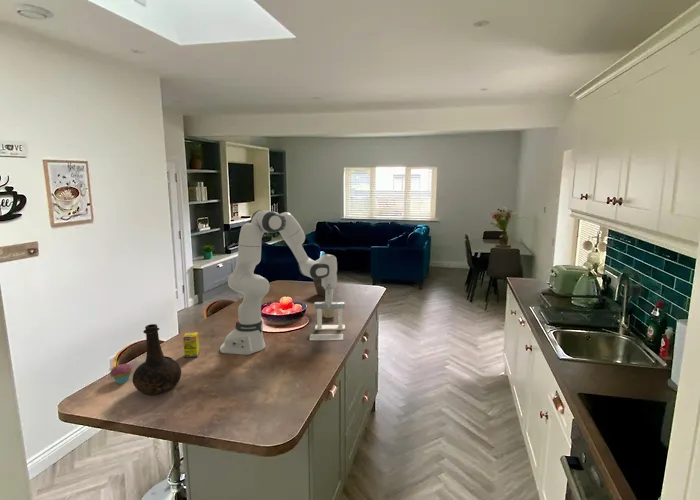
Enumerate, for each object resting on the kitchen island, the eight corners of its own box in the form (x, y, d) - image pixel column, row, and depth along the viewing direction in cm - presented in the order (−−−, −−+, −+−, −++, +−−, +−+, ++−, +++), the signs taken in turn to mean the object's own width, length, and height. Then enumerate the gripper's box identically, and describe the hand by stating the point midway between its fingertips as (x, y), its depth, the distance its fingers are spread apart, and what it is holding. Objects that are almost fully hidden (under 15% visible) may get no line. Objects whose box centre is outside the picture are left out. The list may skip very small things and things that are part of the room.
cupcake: (118, 387, 173) (115, 360, 171) (107, 382, 177) (103, 356, 175) (137, 379, 180) (135, 353, 178) (126, 374, 185) (123, 348, 182)
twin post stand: (315, 330, 236) (314, 309, 234) (315, 326, 242) (315, 305, 240) (344, 329, 236) (344, 308, 234) (344, 326, 242) (344, 305, 240)
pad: (309, 340, 221) (309, 339, 221) (310, 334, 229) (310, 334, 229) (343, 340, 221) (343, 339, 221) (343, 334, 229) (343, 333, 229)
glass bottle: (190, 381, 178) (185, 319, 173) (163, 403, 161) (156, 335, 156) (154, 377, 182) (148, 316, 177) (124, 398, 165) (116, 331, 160)
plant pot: (325, 290, 316) (324, 270, 313) (337, 294, 305) (336, 273, 302) (308, 294, 307) (308, 273, 304) (320, 298, 295) (320, 277, 293)
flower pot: (318, 317, 256) (318, 304, 255) (325, 313, 265) (324, 300, 263) (332, 319, 253) (332, 306, 251) (338, 315, 261) (338, 301, 260)
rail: (314, 308, 235) (314, 303, 234) (314, 307, 238) (314, 302, 237) (344, 309, 235) (344, 304, 235) (344, 307, 238) (344, 302, 238)
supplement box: (184, 358, 200) (182, 337, 198) (187, 353, 206) (185, 332, 204) (197, 357, 201) (195, 336, 199) (199, 352, 207) (198, 331, 205)
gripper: (334, 287, 224) (334, 311, 226) (335, 278, 244) (335, 300, 246) (322, 287, 224) (322, 311, 226) (324, 278, 244) (324, 300, 246)
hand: (329, 306), depth 236 cm, fingers closed on rail, 3 cm apart
